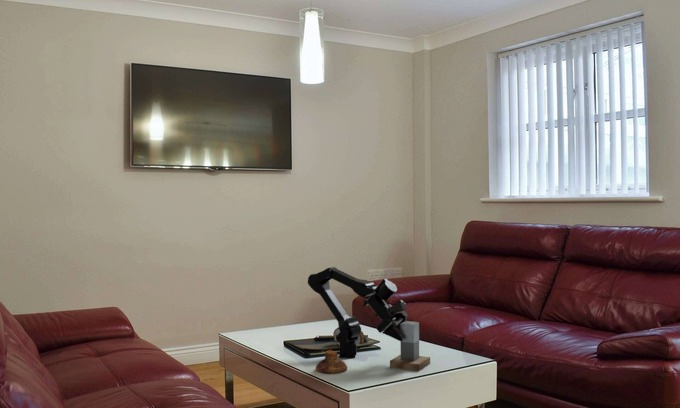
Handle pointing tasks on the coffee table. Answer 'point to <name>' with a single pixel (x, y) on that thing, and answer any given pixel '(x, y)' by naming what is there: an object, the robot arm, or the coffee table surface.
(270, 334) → the coffee table surface
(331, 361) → the bell
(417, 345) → the block
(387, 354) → the coffee table surface
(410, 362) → the stand
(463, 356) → the coffee table surface
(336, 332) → the brown white half disc
